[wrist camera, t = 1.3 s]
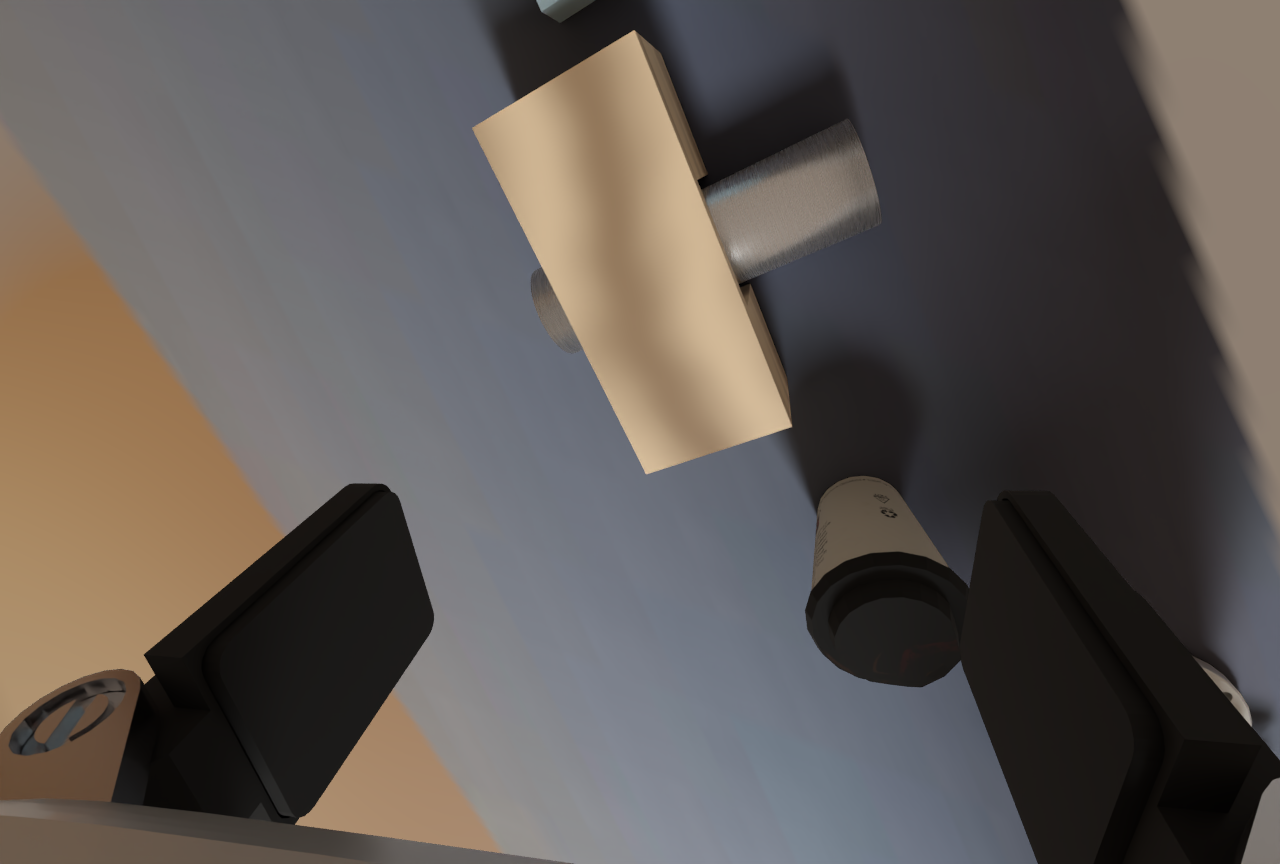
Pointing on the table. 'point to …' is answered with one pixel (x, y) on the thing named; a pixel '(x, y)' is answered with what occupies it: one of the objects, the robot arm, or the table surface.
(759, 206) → the axle
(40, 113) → the table surface
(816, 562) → the coffee cup
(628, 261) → the beam
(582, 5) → the v block
